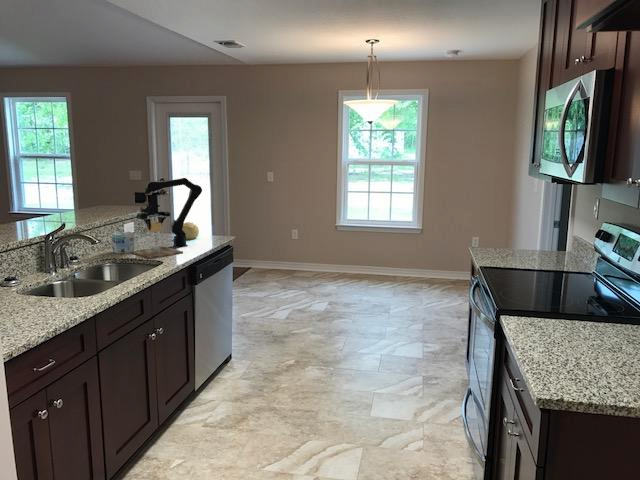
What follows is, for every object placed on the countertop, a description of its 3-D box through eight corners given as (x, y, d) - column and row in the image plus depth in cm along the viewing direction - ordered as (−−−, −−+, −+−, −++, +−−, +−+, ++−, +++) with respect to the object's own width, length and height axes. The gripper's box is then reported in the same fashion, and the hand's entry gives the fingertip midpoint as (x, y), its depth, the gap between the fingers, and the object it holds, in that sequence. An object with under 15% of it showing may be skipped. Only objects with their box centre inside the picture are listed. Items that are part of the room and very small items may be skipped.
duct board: (164, 248, 300) (164, 246, 300) (183, 253, 287) (183, 251, 287) (132, 253, 286) (132, 251, 286) (150, 258, 273) (150, 257, 273)
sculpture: (176, 239, 328) (176, 223, 326) (186, 236, 339) (186, 220, 337) (192, 240, 325) (191, 223, 323) (202, 237, 336) (201, 221, 334)
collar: (156, 230, 304) (156, 221, 303) (161, 231, 300) (161, 222, 299) (147, 231, 300) (146, 222, 299) (152, 232, 296) (152, 223, 295)
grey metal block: (155, 252, 285) (154, 246, 284) (161, 252, 285) (160, 246, 284) (153, 253, 281) (152, 247, 281) (159, 253, 281) (159, 247, 281)
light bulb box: (116, 253, 285) (115, 234, 283) (112, 251, 290) (111, 233, 288) (135, 251, 292) (134, 232, 290) (131, 249, 297) (130, 231, 295)
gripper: (160, 200, 309) (161, 226, 312) (131, 203, 295) (132, 229, 298) (170, 202, 301) (171, 228, 304) (140, 204, 288) (142, 232, 291)
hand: (154, 229), depth 300 cm, fingers closed on collar, 6 cm apart
